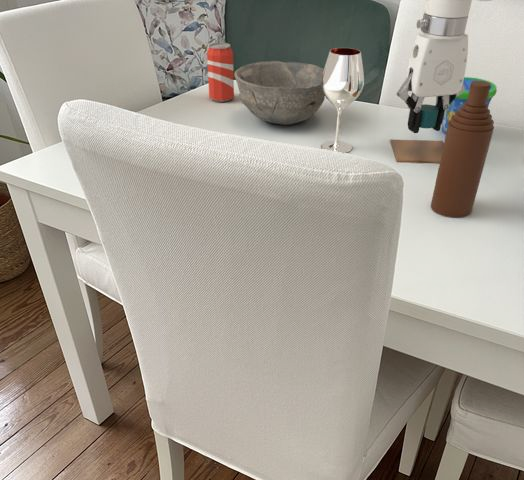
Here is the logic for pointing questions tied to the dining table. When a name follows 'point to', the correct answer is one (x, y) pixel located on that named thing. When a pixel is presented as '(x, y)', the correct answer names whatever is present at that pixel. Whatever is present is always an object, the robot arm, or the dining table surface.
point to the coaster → (417, 150)
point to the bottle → (464, 154)
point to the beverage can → (220, 72)
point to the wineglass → (342, 87)
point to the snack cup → (464, 100)
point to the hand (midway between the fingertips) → (423, 128)
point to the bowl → (281, 90)
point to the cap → (428, 116)
